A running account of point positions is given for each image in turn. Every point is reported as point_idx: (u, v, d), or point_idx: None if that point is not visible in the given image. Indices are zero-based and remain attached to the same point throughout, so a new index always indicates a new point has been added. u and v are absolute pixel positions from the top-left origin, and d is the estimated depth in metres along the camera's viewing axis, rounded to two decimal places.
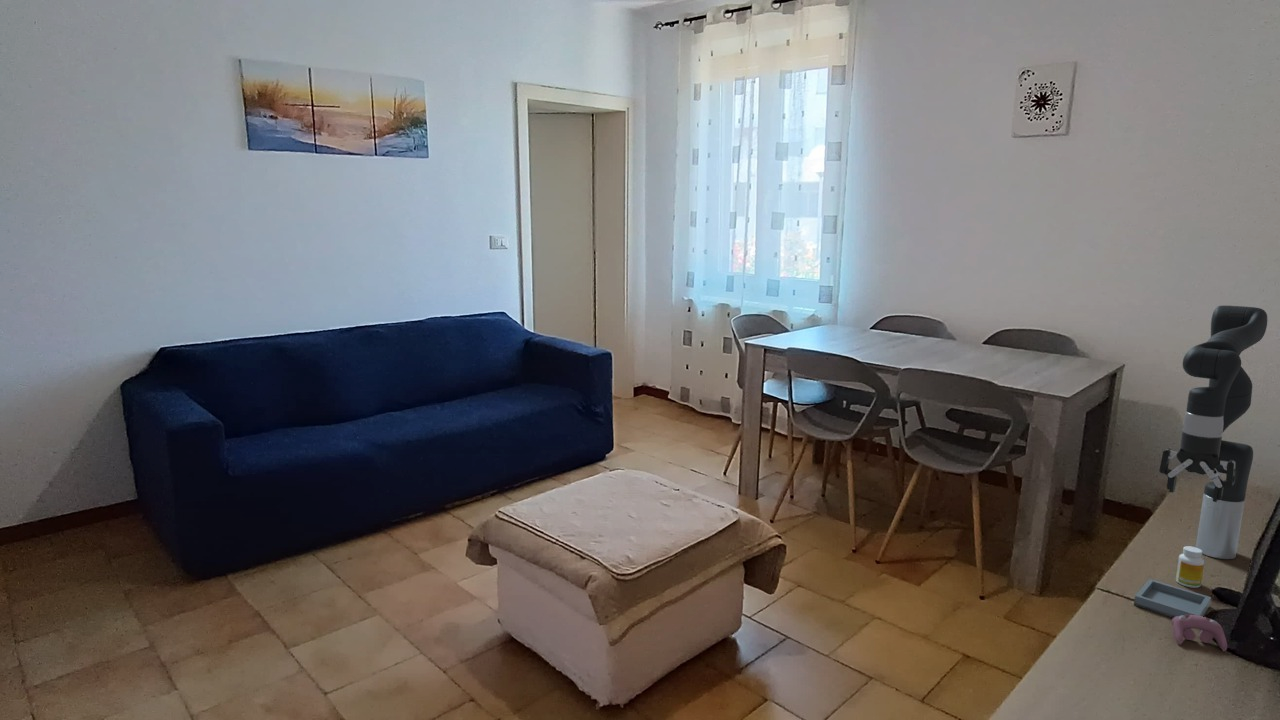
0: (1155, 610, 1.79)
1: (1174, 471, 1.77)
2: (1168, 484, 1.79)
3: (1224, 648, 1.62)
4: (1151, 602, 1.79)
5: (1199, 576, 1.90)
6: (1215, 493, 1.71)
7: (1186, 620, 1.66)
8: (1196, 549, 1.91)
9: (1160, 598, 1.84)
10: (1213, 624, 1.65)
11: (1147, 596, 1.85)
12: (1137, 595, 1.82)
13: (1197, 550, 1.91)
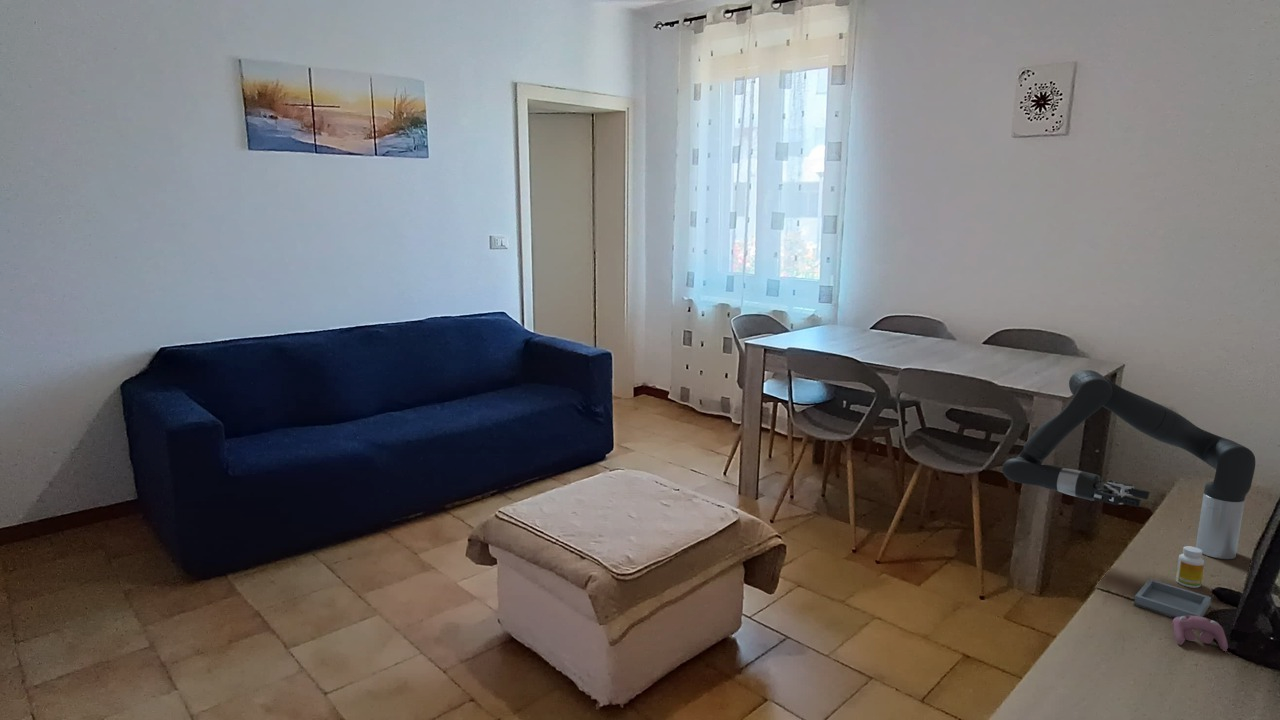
0: (1155, 610, 1.79)
1: None
2: None
3: (1225, 649, 1.62)
4: (1151, 602, 1.79)
5: (1199, 576, 1.90)
6: None
7: (1187, 621, 1.66)
8: (1196, 549, 1.91)
9: (1160, 598, 1.84)
10: (1214, 625, 1.64)
11: (1147, 596, 1.85)
12: (1137, 595, 1.82)
13: (1197, 550, 1.91)
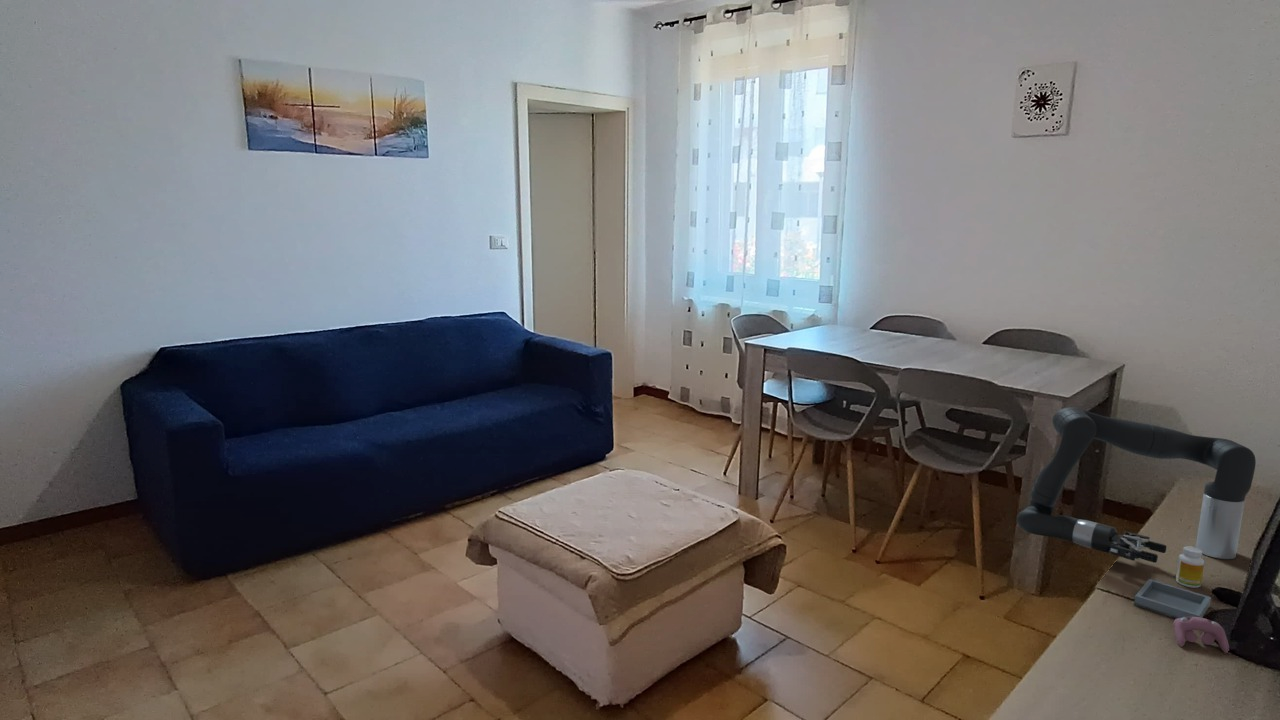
0: (1155, 610, 1.79)
1: None
2: None
3: (1226, 650, 1.61)
4: (1151, 602, 1.79)
5: (1199, 576, 1.90)
6: None
7: (1188, 622, 1.65)
8: (1196, 549, 1.91)
9: (1160, 598, 1.84)
10: (1215, 626, 1.64)
11: (1147, 596, 1.85)
12: (1137, 595, 1.82)
13: (1197, 550, 1.91)
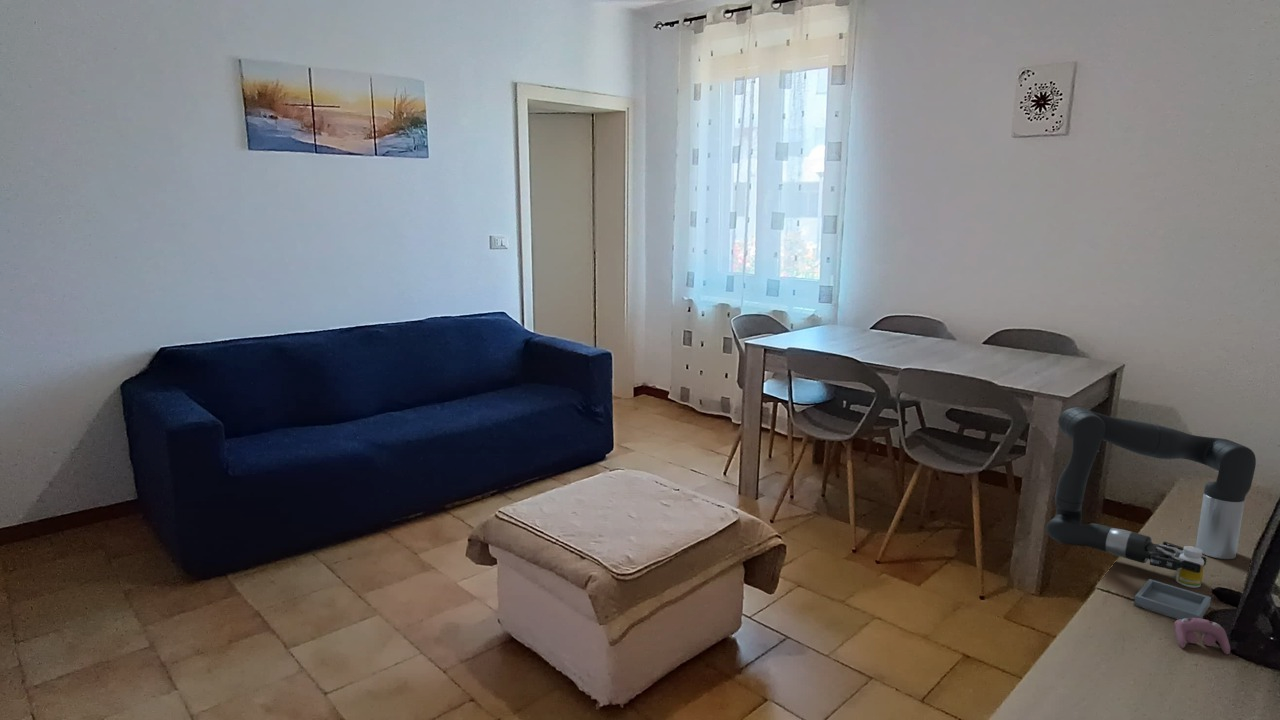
0: (1155, 610, 1.79)
1: None
2: None
3: (1227, 651, 1.61)
4: (1151, 602, 1.79)
5: (1199, 576, 1.90)
6: None
7: (1189, 623, 1.65)
8: (1196, 549, 1.91)
9: (1160, 598, 1.84)
10: (1216, 627, 1.63)
11: (1147, 596, 1.85)
12: (1137, 595, 1.82)
13: (1197, 549, 1.91)
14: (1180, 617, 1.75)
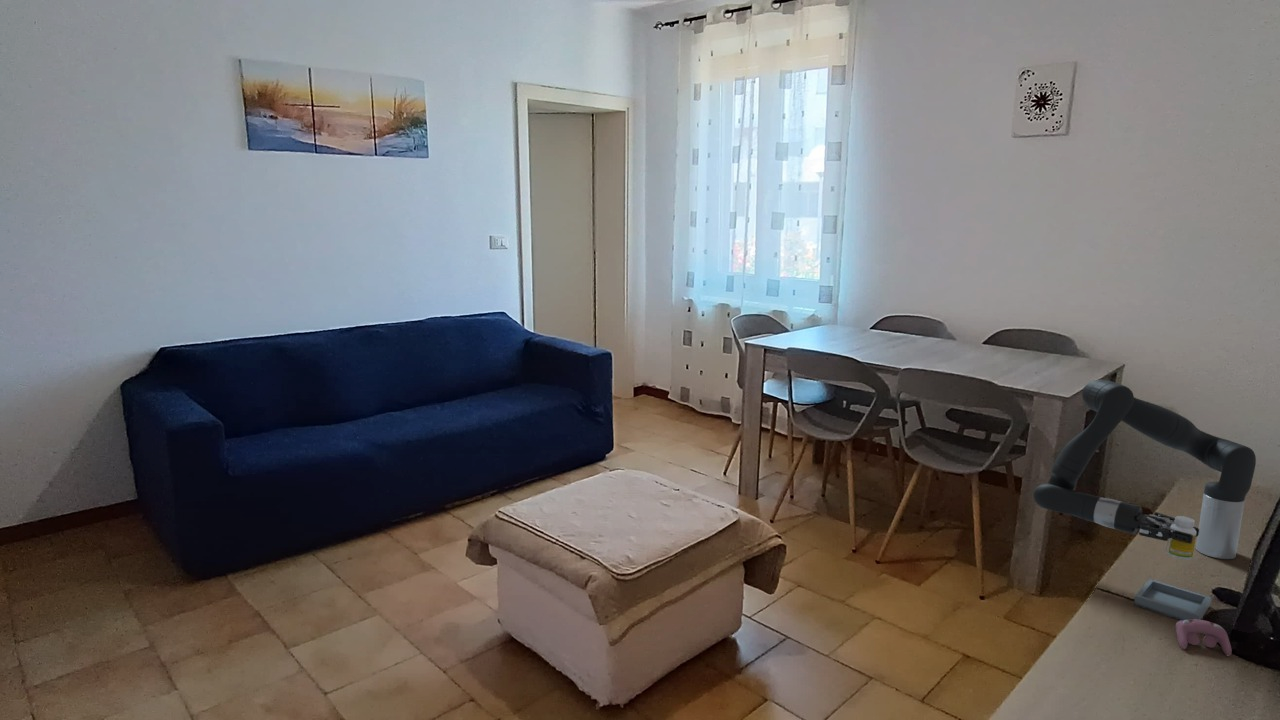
0: (1155, 610, 1.79)
1: None
2: None
3: (1228, 653, 1.60)
4: (1151, 602, 1.79)
5: (1191, 547, 1.80)
6: None
7: (1190, 625, 1.64)
8: (1188, 519, 1.81)
9: (1160, 598, 1.84)
10: (1217, 629, 1.63)
11: (1147, 596, 1.85)
12: (1137, 595, 1.82)
13: (1189, 519, 1.81)
14: (1180, 617, 1.75)
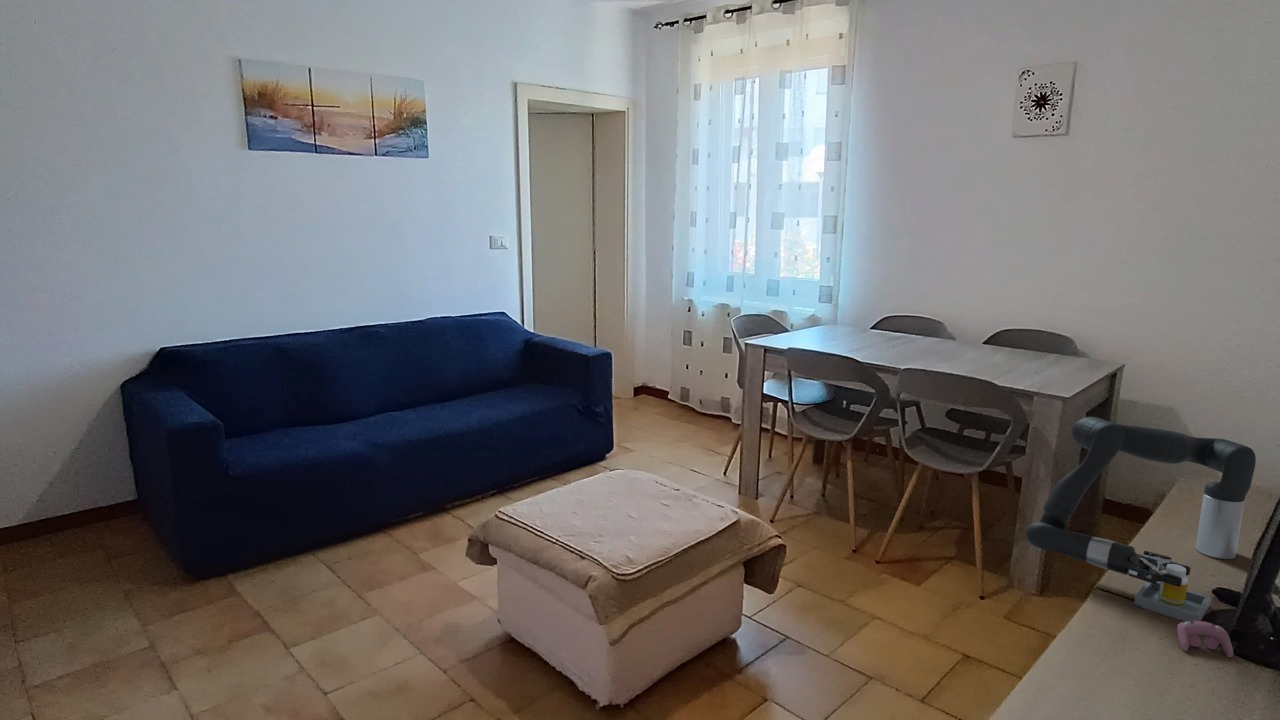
0: (1155, 610, 1.79)
1: None
2: None
3: (1230, 655, 1.59)
4: (1151, 602, 1.79)
5: (1183, 596, 1.79)
6: None
7: (1191, 626, 1.64)
8: (1180, 567, 1.80)
9: None
10: (1219, 630, 1.62)
11: (1147, 596, 1.85)
12: (1137, 595, 1.82)
13: (1181, 568, 1.79)
14: (1180, 617, 1.75)
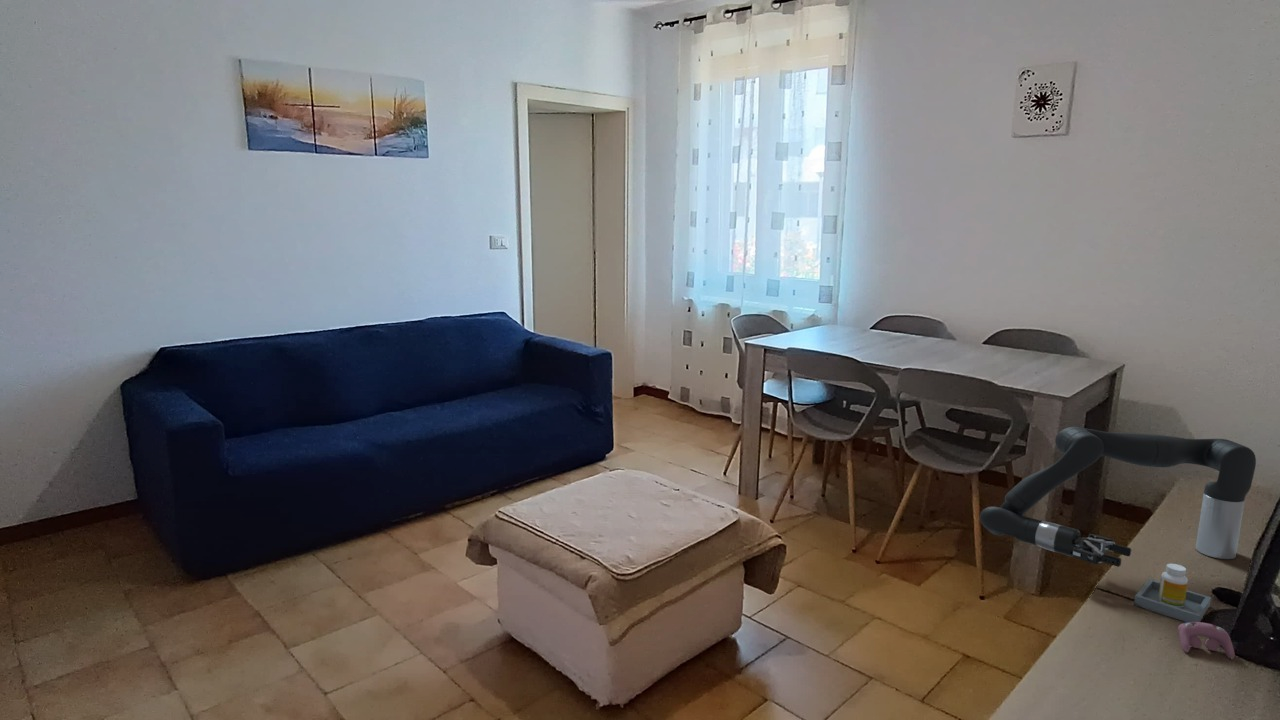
0: (1155, 610, 1.79)
1: None
2: None
3: (1231, 656, 1.59)
4: (1151, 602, 1.79)
5: (1183, 595, 1.79)
6: None
7: (1192, 627, 1.63)
8: (1180, 567, 1.80)
9: None
10: (1220, 631, 1.62)
11: (1147, 596, 1.85)
12: (1137, 595, 1.82)
13: (1181, 567, 1.80)
14: (1180, 617, 1.75)
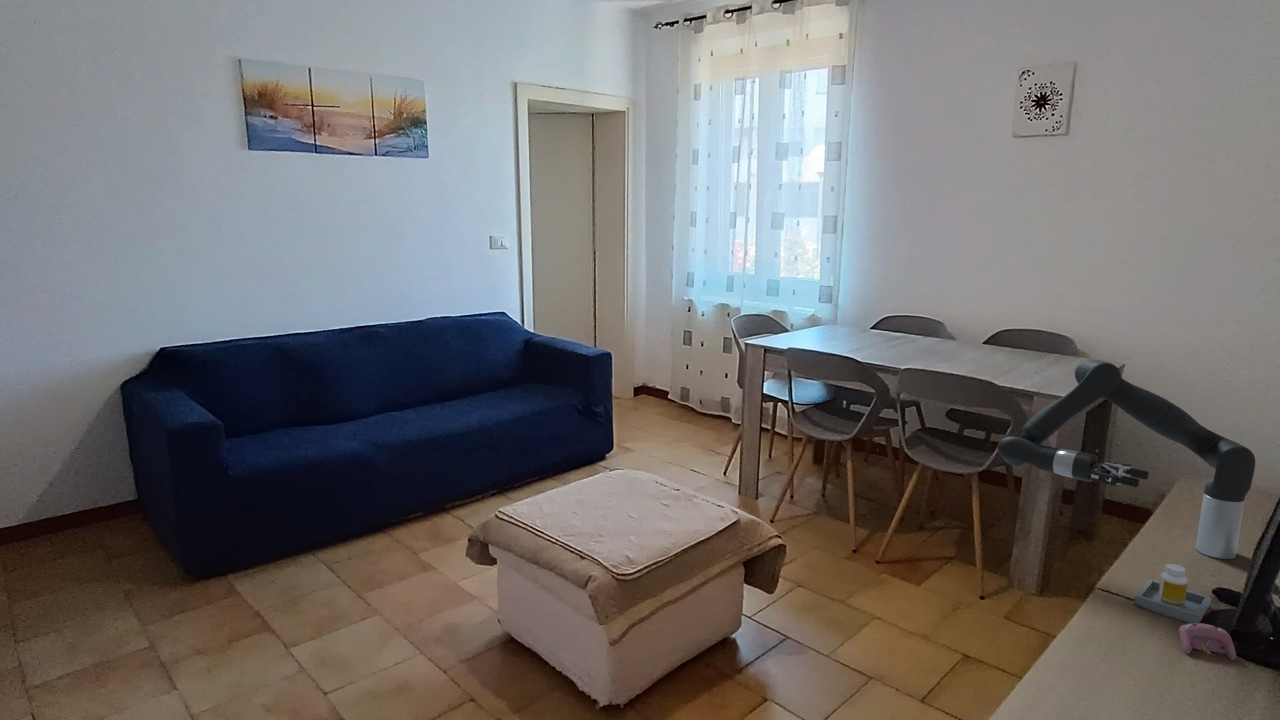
0: (1155, 610, 1.79)
1: None
2: None
3: (1233, 657, 1.58)
4: (1151, 602, 1.79)
5: (1183, 595, 1.79)
6: None
7: (1194, 629, 1.63)
8: (1179, 567, 1.80)
9: None
10: (1221, 633, 1.61)
11: (1147, 596, 1.85)
12: (1137, 595, 1.82)
13: (1180, 567, 1.80)
14: (1180, 617, 1.75)
